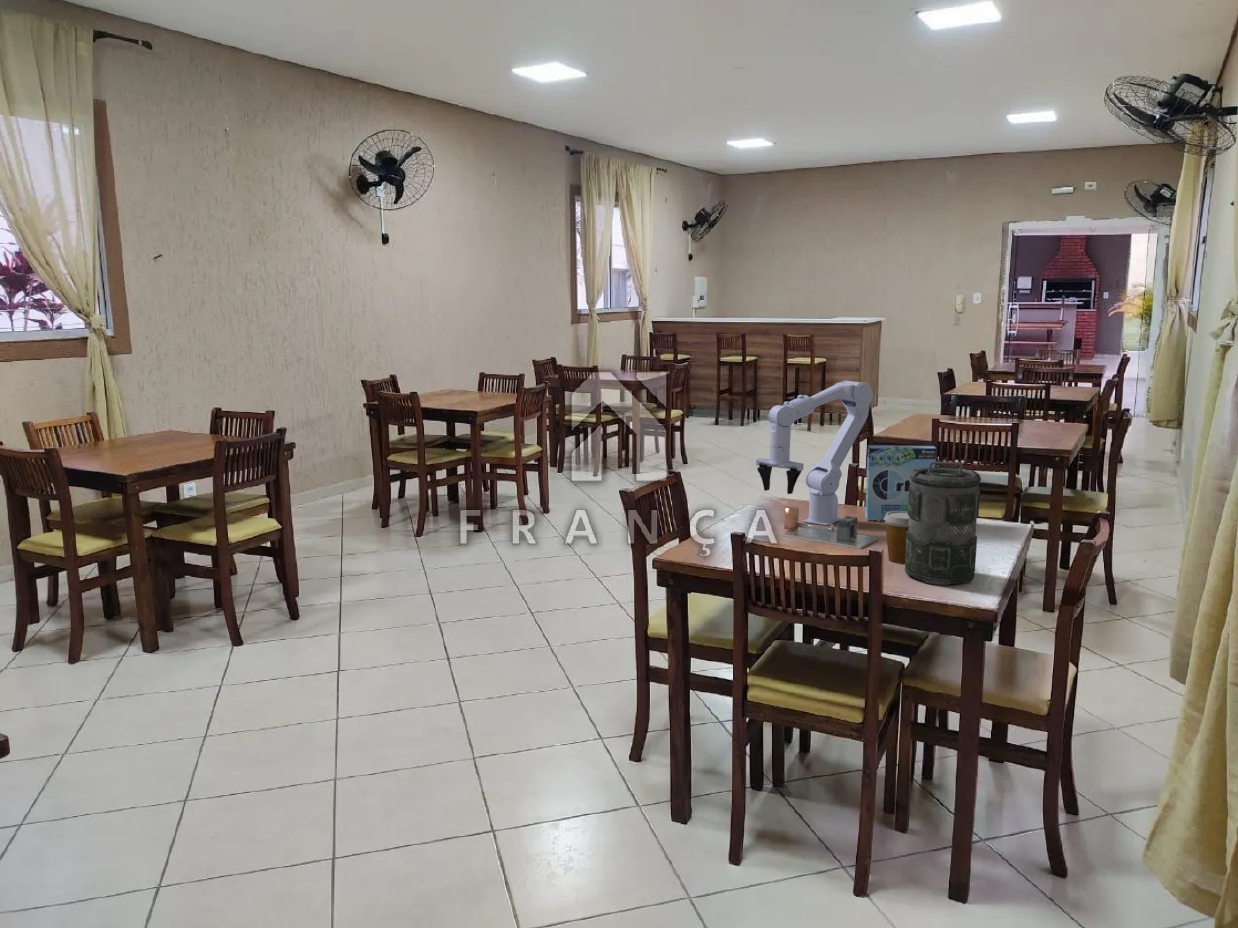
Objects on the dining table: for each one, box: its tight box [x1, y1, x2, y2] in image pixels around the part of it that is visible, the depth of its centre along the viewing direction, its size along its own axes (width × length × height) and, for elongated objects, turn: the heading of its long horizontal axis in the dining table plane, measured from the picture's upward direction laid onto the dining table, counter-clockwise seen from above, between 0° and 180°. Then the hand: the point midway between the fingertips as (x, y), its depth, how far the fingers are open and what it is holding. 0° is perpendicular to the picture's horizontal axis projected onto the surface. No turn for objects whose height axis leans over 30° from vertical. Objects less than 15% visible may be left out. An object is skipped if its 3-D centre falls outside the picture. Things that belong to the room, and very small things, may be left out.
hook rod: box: [783, 506, 835, 532], centre depth 244 cm, size 15×4×6 cm, turn 52°
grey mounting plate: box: [782, 515, 878, 550], centre depth 241 cm, size 12×23×6 cm, turn 52°
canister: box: [904, 461, 982, 586], centre depth 203 cm, size 16×16×28 cm
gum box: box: [864, 444, 937, 522], centre depth 259 cm, size 19×5×23 cm, turn 82°
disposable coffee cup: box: [884, 511, 909, 565], centre depth 218 cm, size 10×10×12 cm
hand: (778, 491), depth 253 cm, fingers open, 7 cm apart
